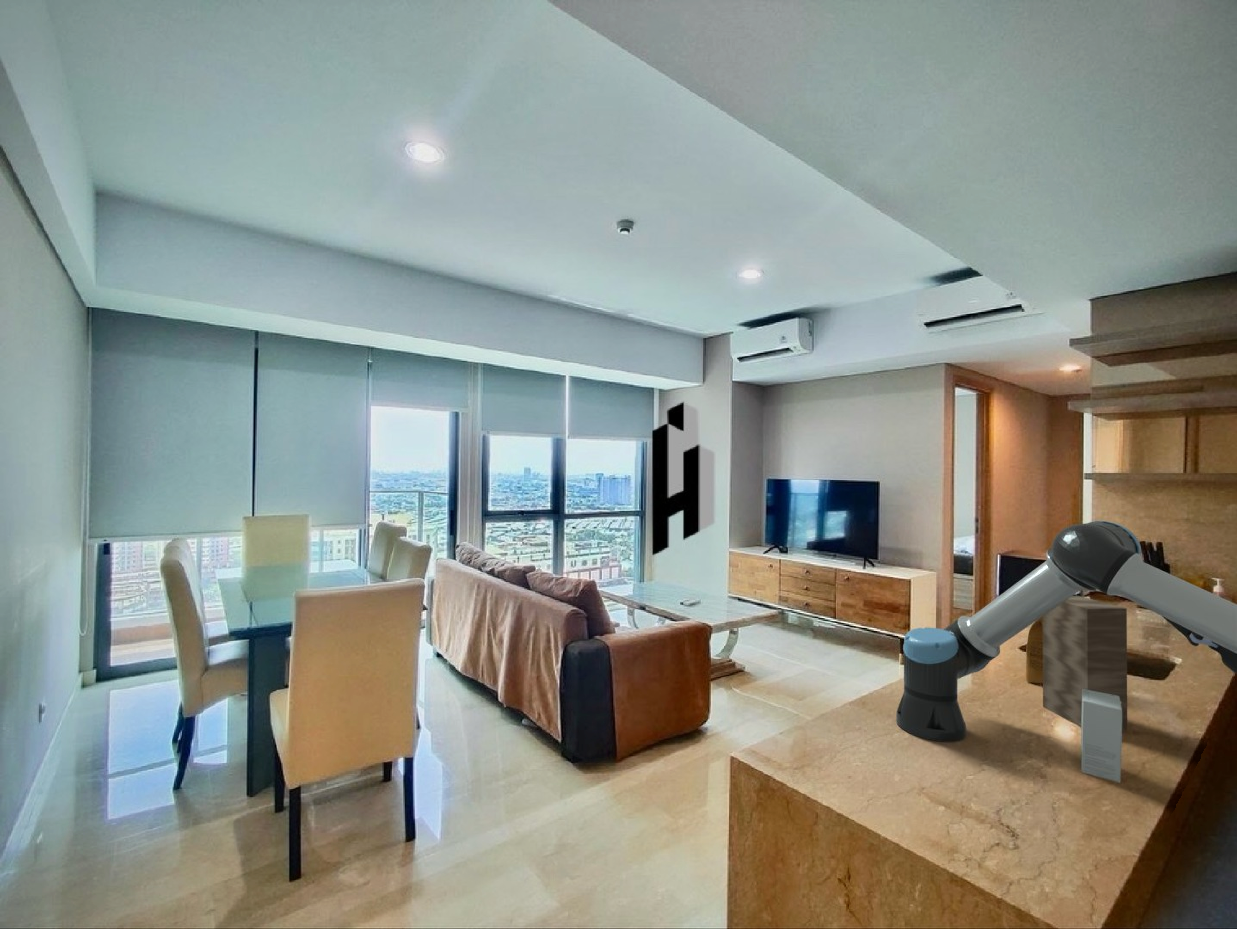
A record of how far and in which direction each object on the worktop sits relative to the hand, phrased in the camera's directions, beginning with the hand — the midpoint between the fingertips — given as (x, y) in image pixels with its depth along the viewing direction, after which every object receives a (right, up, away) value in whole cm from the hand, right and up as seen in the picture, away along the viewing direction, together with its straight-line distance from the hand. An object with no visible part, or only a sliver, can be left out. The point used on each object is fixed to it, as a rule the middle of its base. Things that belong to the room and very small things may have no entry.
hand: (1155, 584), depth 126 cm
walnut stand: (-1, -39, +19) cm, 43 cm away
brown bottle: (+9, -39, +44) cm, 59 cm away
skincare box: (-18, -39, -7) cm, 43 cm away
